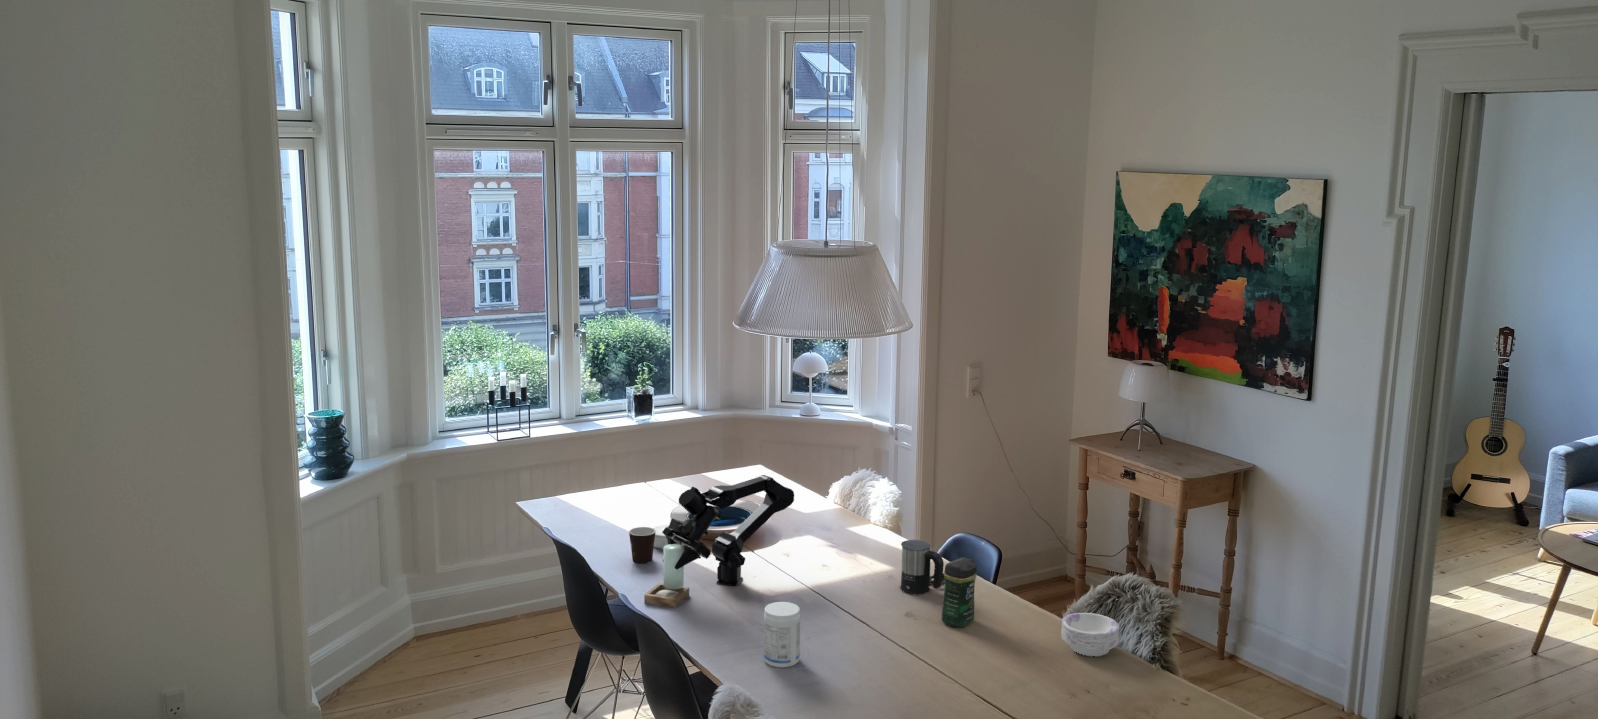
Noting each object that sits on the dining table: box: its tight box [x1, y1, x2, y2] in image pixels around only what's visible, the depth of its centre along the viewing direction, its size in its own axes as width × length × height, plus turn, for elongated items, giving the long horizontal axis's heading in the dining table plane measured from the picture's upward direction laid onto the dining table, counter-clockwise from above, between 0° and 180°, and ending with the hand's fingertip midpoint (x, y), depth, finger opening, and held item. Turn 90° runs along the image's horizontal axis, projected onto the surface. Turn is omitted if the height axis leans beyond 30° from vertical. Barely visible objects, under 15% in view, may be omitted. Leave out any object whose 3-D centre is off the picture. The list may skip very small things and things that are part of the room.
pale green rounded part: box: [663, 544, 685, 589], centre depth 324 cm, size 6×6×12 cm
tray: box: [643, 582, 690, 609], centre depth 324 cm, size 10×10×3 cm
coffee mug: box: [628, 526, 656, 565], centre depth 357 cm, size 12×9×10 cm
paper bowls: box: [1060, 612, 1121, 657], centre depth 295 cm, size 15×15×8 cm
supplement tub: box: [763, 601, 801, 668], centre depth 284 cm, size 10×10×15 cm
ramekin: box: [652, 524, 669, 550], centre depth 371 cm, size 11×11×5 cm
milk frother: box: [899, 539, 945, 595], centre depth 337 cm, size 14×16×15 cm
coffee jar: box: [941, 556, 978, 628], centre depth 311 cm, size 10×8×19 cm
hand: (669, 565), depth 323 cm, fingers closed on pale green rounded part, 6 cm apart
